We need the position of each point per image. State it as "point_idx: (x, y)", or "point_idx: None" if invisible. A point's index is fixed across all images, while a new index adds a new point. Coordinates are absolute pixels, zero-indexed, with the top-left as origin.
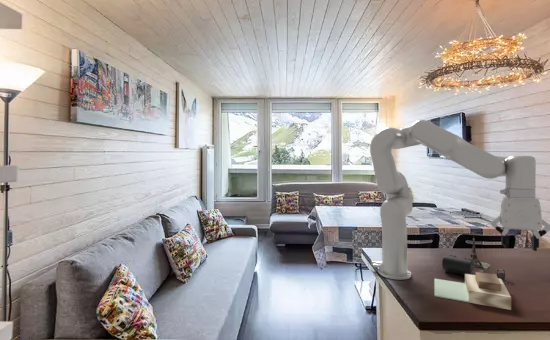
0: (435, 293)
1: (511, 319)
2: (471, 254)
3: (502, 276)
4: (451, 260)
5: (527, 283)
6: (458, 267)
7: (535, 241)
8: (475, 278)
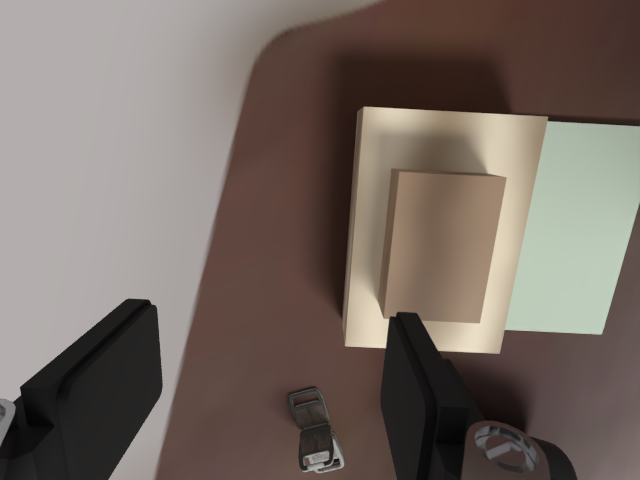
0: None
1: (382, 5)
2: None
3: (309, 440)
4: None
5: (224, 426)
6: None
7: (72, 356)
8: None
